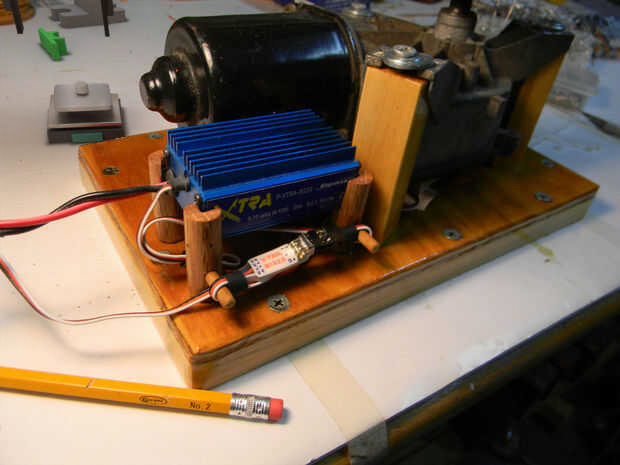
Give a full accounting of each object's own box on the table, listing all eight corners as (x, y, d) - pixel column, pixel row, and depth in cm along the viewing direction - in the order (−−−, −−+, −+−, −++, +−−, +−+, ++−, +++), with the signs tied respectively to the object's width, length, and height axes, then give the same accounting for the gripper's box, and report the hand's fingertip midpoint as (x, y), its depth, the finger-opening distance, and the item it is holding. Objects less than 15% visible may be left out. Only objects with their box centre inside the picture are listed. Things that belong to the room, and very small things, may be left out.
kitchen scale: (50, 147, 87) (46, 130, 84) (53, 112, 96) (49, 97, 94) (125, 143, 91) (123, 127, 89) (121, 110, 100) (119, 95, 98)
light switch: (114, 118, 89) (111, 93, 86) (56, 121, 86) (50, 95, 83) (110, 95, 96) (107, 71, 93) (56, 97, 92) (51, 72, 89)
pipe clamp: (72, 61, 116) (68, 42, 113) (56, 63, 114) (52, 44, 111) (57, 44, 122) (53, 26, 119) (41, 46, 120) (37, 27, 117)
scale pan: (48, 128, 85) (47, 124, 85) (51, 97, 94) (50, 94, 93) (121, 125, 89) (121, 122, 89) (118, 96, 98) (117, 93, 97)
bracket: (51, 19, 134) (42, -23, 127) (111, 12, 145) (106, -26, 138) (66, 30, 130) (58, -13, 123) (127, 22, 140) (123, -17, 133)
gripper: (-71, -126, 62) (-22, 38, 76) (131, -101, 71) (142, 42, 84) (-59, -133, 67) (-16, 22, 81) (127, -108, 76) (138, 28, 89)
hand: (65, 32), depth 83 cm, fingers open, 13 cm apart
